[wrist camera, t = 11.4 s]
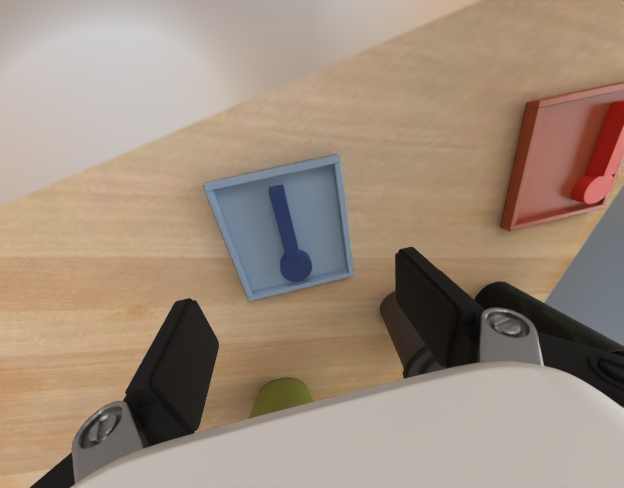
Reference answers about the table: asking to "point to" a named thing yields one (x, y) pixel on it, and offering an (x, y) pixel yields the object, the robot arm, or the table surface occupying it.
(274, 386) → the flower pot
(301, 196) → the blue tray
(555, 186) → the red tray
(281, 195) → the blue spoon
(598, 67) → the table surface
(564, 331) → the cup
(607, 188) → the red spoon
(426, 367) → the coffee cup
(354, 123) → the table surface
